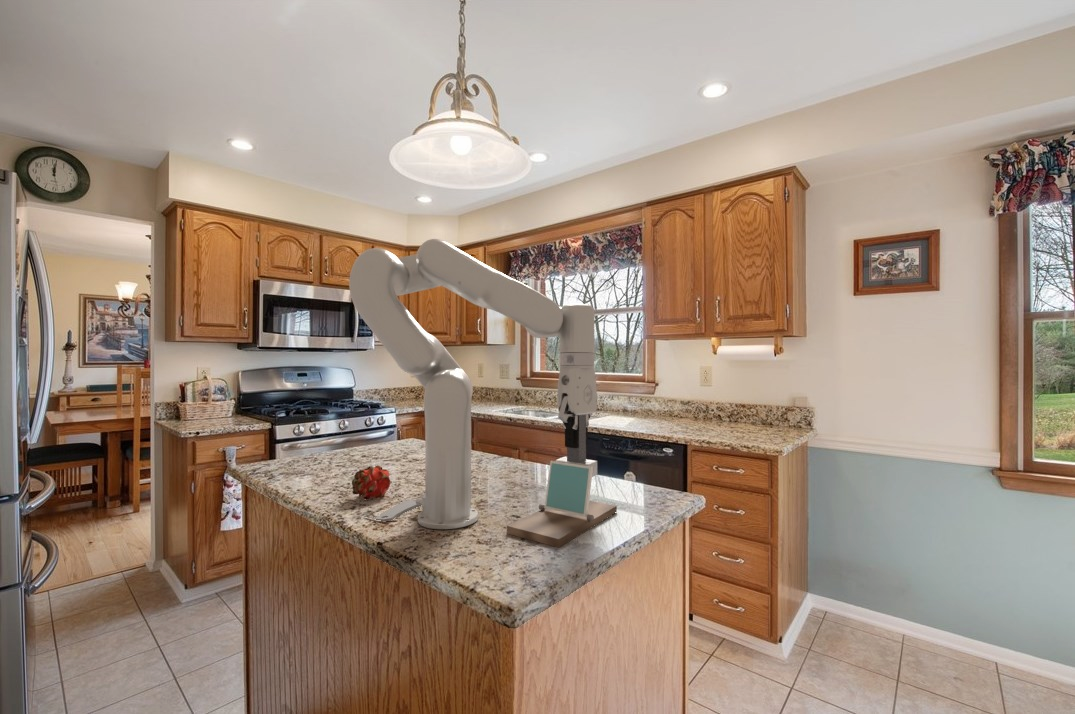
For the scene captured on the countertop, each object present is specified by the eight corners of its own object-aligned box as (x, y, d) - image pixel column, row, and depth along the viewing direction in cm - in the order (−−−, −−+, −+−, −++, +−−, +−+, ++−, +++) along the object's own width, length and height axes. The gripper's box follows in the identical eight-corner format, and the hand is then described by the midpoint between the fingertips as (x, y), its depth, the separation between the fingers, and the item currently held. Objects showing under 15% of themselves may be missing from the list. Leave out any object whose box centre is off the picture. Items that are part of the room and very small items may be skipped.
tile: (546, 507, 103) (544, 507, 102) (552, 460, 105) (550, 460, 104) (587, 516, 97) (585, 516, 96) (593, 466, 99) (590, 466, 98)
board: (505, 533, 93) (505, 519, 93) (568, 502, 113) (568, 491, 113) (560, 547, 86) (560, 532, 86) (618, 513, 106) (618, 500, 106)
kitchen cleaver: (428, 487, 124) (459, 490, 119) (428, 491, 124) (459, 495, 119) (351, 515, 103) (384, 520, 98) (351, 520, 103) (384, 525, 98)
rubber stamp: (588, 478, 100) (588, 411, 99) (556, 473, 104) (555, 409, 104) (597, 474, 103) (597, 410, 103) (565, 469, 107) (565, 407, 107)
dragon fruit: (351, 512, 111) (382, 504, 122) (378, 492, 109) (407, 487, 121) (336, 479, 113) (369, 475, 125) (363, 460, 112) (393, 458, 123)
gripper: (572, 361, 95) (572, 454, 95) (609, 361, 108) (608, 442, 108) (541, 361, 99) (540, 450, 99) (580, 361, 112) (579, 439, 112)
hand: (576, 445), depth 103 cm, fingers closed on rubber stamp, 3 cm apart
